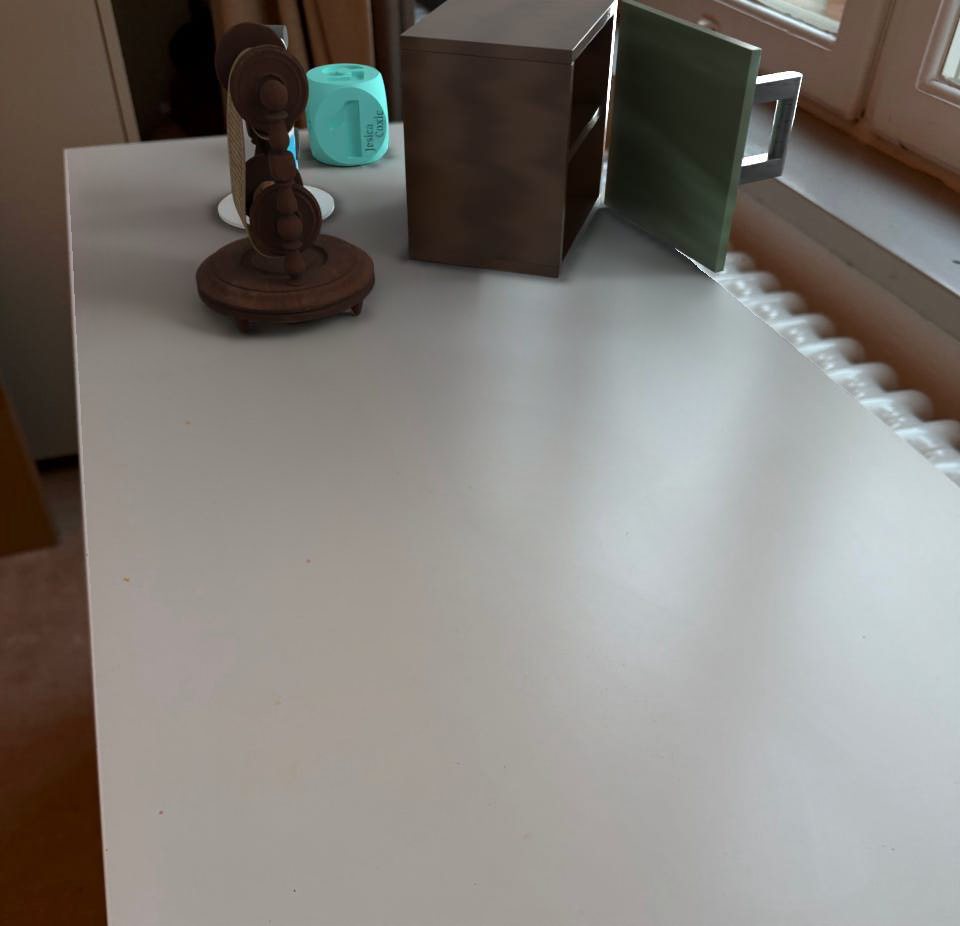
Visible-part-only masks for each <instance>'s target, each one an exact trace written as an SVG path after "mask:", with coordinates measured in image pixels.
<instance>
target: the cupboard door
mask: <svg viewBox="0 0 960 926" xmlns="http://www.w3.org/2000/svg"><path fill="white" fill-rule="evenodd" d="M619 14H620V15H619V24H618V25H619V27H618V35H617V36H618V38H617V48H616V59H615V71H614V84H613V94H612V96H613V97H612V105H611V117H610V127H609V141H608V152H607V162H606V175H605V184H604V197H603V206H606V207H608V209H610V210H612V211H614V212H615V213H617V214H618V215H620V216H621V217H624V218H625V219H627V220H629V221H630V222H631V223H633V224H635V225H637V226H638V227H640V228H641V229H643V230H644V231H646V232H648V233H649V234H651V235H653V236H654V237H655V238H657V239H659V240H661V241H662V242H663V243H665V244H667V245H669V246H671V247H672V248H674V249H675V250H677V251H678V252H680V253H681V254H683V255H685V256H687V257H688V258H690V259H691V260H693V261H694V262H696V263H698V264H700V265H701V266H703V267H704V268H706V269H708V270H709V271H711V272H712V273H714V274H716V273H721V272H724V270H725V266H726V260H727V253H728V248H729V247H728V246H729V242H730V237H731V236H730V235H731V230H732V224H733V218H734V215H735V214H734V213H735V207H736V202H737V196H738V189H739V186H741V185H746V184H750V183H756V182H760V181H765V180H771V179H774V178H779V177H782V176H783V174H784V169H785V165H786V160H787V159H786V158H787V154H788V149H789V144H790V139H791V134H792V129H793V124H794V120H795V115H796V109H797V105H798V104H797V103H798V100H799V94H800V89H801V84H802V80H803V74H802V73H800V72H797V71H783V72H777V73H773V74H772V73H771V74H766V75H761V76H758V75H759V69H760V64H761V59H762V58H761V57H762V51H763V49H762V48H761V47H759V46H755V45H753V44H750V43H748V42H745V41H742V40H739V39H737V38H734V37H731V36H729V35H726V34H724V33H721V32H718V31H716V30H713V29H710V28H707V27H705V26H702V25H699V24H697V23H694V22H692V21H689V20H686V19H684V18H681V17H678V16H675V15H673V14H671V13H668V12H665V11H663V10H660V9H657V8H654V7H652V6H649V5H646V4H644V3H642V2H638V1H636V0H621V3H620V13H619ZM770 102H776V107H775V112H774V118H773V123H772V127H771V135H770V138H769V144H768V148H767V149H768V150H767V153H762V154H756V155H752V156H746V157H744V155H745V150H746V144H747V138H748V134H749V133H748V132H749V127H750V121H751V115H752V110H753V106H754V105H759V104H765V103H770Z"/></svg>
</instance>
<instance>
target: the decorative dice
mask: <svg viewBox="0 0 960 926" xmlns="http://www.w3.org/2000/svg"><path fill="white" fill-rule="evenodd" d="M306 76H307V79H308V84H309V97H308V102H307V105H306V108H305V110H304V112H305V118H306V119H305V120H306V126H307V127H306V128H307V133H308V140H309V145H310V150H311V154H312V157H313V158H315V159H316V160H317V161H319V162H321V163H323V164H325V165H329V166H330V165H331V166H339V167H354V166H357V167H358V166H363V165H368V164H372V163H374V162H377V161H378V160H380V159H382V157H383V156H385V154H386V152H387V151H388V149H389V142H390V141H389V139H390V136H389V133H390V131H389V130H390V129H389V128H390V127H389V111H388V102H387V95H386V89H385V83H384V80H383V76H382V73H381V72H380V71H379V70H378V69H377V68H376V67H373V66H370V65H365V64H358V63H331V64H324V65H320V66H316V67H314V68H311V69H310V70H308V71H307V72H306Z"/></svg>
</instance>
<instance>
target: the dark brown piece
mask: <svg viewBox="0 0 960 926" xmlns="http://www.w3.org/2000/svg"><path fill="white" fill-rule="evenodd" d="M266 25H267V24H264V23H261V22H257V21H243V22H239V23H236V24H234V25H232V26H231V27H229V28H228V29H227V30H225V32H224V33H223V34H222V35H221V37H220V38H219V40H218V42H217V44H216V48H215V53H214V69H215V73H216V77H217V79H218V81H219V83H220V84H221V87H222V88H223V89H224V91H225V92H226V93H227V94H226V95H227V96H226V97H227V98H226V136H227V137H226V138H227V152H228V166H229V179H230V188H231V194H232V196H233V201H234V204H235V207H236V210H237V212H238V215H239V217H240V219H241V221H242V223H243V225H244V228H245V229H244V230H245V232H246V234H247V236H246V237H243V238H239V239H237V240H235V241H231V242H230V243H227V244H226V245H223V246H221V247H220V248H219V249H217V250H216V251H215V252H213V253H211V254H210V255H209V256H207V257H206V258H205V259H204V260H203V261H202V262H201V263H200V264H199V266H198V268H197V269H196V272H195V283H196V288H197V294H198V297H199V299H200V300H201V301H202V303H203V304H204V305H206V306H207V307H208V308H210V309H211V310H212V311H215V312H216V313H218V314H221V315H223V316H226V317H229V318H232V319H234V323H235V325H236V326H237V328H238V330H239V332H241V333H243V334H244V333H246V332H248V329H249V327H250V326H249V325H250V322H253V323H263V324H289V323H290V324H291V323H300V322H301V323H302V322H309V321H314V320H318V319H321V318H322V319H323V318H327V317H330V316H333V315H336V314H339V313H342V312H344V311H347V310H349V309H350V310H351V312H352V314H353V315H354V316H359V315H361V314H362V310H363V306H364V305H363V304H364V300H365V299H366V298H367V297H368V296H369V295H370V294H371V292H372V291H373V289H374V287H375V284H376V273H375V264H374V261H373V259H372V257H371V256H370V254H369V253H367V252H366V251H365V250H364V249H362V248H361V247H359V246H357V245H355V244H354V243H351V242H350V241H349V242H348V241H347V240H345V239H342V238H340V237H338V236H334V235H331V234H326V233H322V232H321V230H322V225H323V224H322V223H323V220H322V213H321V209H320V206H319V204H318V201H317V200H316V198H315V197H314V195H313V194H312V193H311V192H310V191H309V190H307V189H306V188H305V187H303V185H304V181H303V177H302V175H301V173H300V172H299V168H298V169H297V168H296V162H295V158H294V155H293V153H292V152H291V151H289V150H287V149H288V147H289V144H290V138H289V134H288V133H289V132H290V131H291V130H292V128H293V126H294V127H295V123H296V122H298V121H299V119H300V118H301V117H302V116H303V114H304V112H305V108H306V105H307V102H308V97H309V84H308V79H307V76H306V74H307V72H306V71H305V68H304V67H303V65H302V63H301V61H299V59H298V58H297V57H296V56H295V55H294V54H293V53H292V52H290V51H289V50H288V49H286V47H285V44H284V43H283V41H282V40H281V38H280V37H279V36H278V35H277V33H276V32H274V31H273V30H272V29H271V28H269V27H267V26H266ZM242 119H243V120H244V121H245V124H246V129H247V133H248V136H249V137H250V138H251V143H252V144H254V145H256V147H255V154H254V157H252V158H250V159H249V160H247V161H246V160H245V143H244V133H243V122H242ZM246 215H247V216H248V217H249V223H250V225H249V224H248V223H247V221H246Z"/></svg>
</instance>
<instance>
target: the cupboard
mask: <svg viewBox="0 0 960 926" xmlns="http://www.w3.org/2000/svg"><path fill="white" fill-rule="evenodd" d="M617 10H618V0H446V1H444V2H443V3H442V4H440V5H439V6H437V7H436V8H434V9H433V10H432V11H431V12H429V13H428V14H427V15H426V16H424V17H422V18H421V19H419V21H417V22H415V23H414V24H413V25H412V26H410V27H409V28H408V29H406V30H405V31H403V32H402V33H401V34H399V54H400V55H399V56H400V78H401V80H400V81H401V101H402V102H401V104H402V124H403V125H402V126H403V127H402V128H403V147H404V149H403V151H404V174H405V175H404V177H405V198H406V199H405V200H406V220H407V242H408V243H407V245H408V259H410V260H417V261H424V262H433V263H441V264H446V265H447V264H448V265H456V266H463V267H471V268H478V269H479V268H480V269H487V270H493V271H501V272H508V273H515V274H517V273H518V274H524V275H531V276H538V277H545V278H553V279H559V278H560V277H561V275H562V274H563V271H564V269H565V268H566V266H567V264H568V263H569V260H570V259H571V257H572V255H573V253H574V251H575V250H576V248H577V246H578V245H579V242H580V241H581V239H582V237H583V235H584V234H585V232H586V230H587V228H588V227H589V225H590V223H591V221H592V219H593V218H594V216H595V214H596V212H597V210H598V209H599V207H600V205H601V198H602V187H603V186H602V185H603V175H604V163H605V150H606V142H607V141H606V139H607V129H608V117H609V115H608V114H609V103H610V92H611V81H612V68H613V59H614V58H613V56H614V46H615V34H616V33H615V32H616V24H617V23H616V22H617Z"/></svg>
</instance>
